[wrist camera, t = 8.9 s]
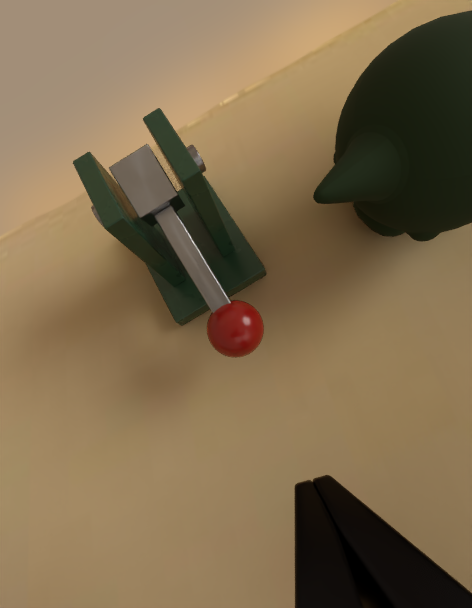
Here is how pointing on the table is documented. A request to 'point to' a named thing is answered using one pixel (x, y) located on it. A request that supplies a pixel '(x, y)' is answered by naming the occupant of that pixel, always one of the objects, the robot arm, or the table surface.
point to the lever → (187, 251)
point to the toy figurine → (409, 135)
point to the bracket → (195, 215)
